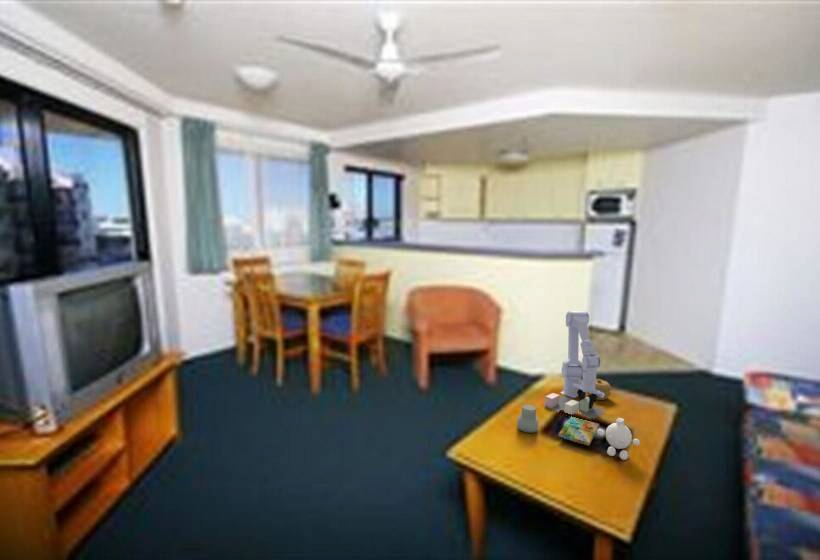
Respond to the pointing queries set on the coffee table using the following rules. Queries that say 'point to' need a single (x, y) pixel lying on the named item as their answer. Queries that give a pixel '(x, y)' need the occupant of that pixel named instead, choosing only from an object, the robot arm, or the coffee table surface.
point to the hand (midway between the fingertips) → (586, 406)
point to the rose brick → (552, 400)
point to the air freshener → (528, 419)
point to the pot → (602, 388)
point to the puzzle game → (579, 430)
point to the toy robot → (618, 438)
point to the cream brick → (571, 407)
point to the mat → (590, 414)
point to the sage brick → (584, 404)
